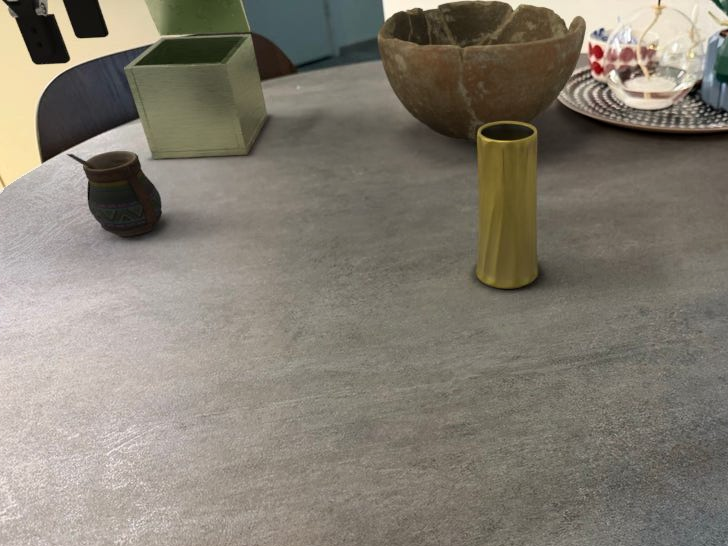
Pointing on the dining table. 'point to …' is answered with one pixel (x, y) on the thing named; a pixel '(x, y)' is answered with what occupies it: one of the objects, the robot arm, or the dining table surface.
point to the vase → (507, 204)
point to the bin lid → (198, 16)
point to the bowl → (478, 63)
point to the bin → (198, 95)
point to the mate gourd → (121, 193)
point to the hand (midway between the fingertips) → (74, 49)
